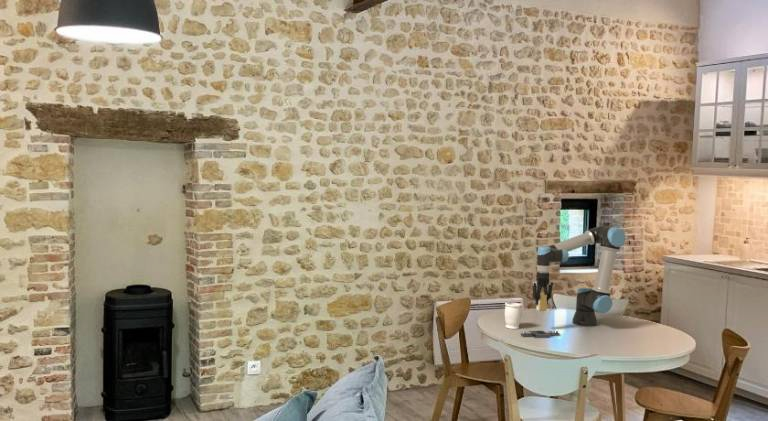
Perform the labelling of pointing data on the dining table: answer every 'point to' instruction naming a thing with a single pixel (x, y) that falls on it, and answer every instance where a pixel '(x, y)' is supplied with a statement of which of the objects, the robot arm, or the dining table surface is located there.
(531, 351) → the dining table surface
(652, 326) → the dining table surface
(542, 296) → the gold rectangular block
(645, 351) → the dining table surface
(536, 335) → the knobbed square frame
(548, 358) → the dining table surface
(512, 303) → the jar
